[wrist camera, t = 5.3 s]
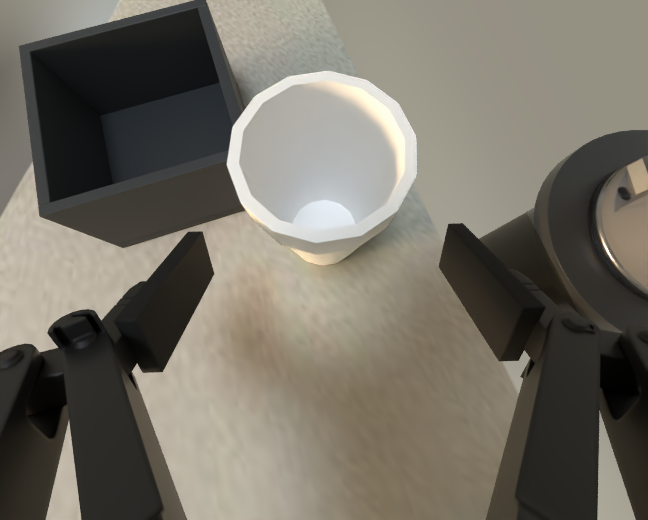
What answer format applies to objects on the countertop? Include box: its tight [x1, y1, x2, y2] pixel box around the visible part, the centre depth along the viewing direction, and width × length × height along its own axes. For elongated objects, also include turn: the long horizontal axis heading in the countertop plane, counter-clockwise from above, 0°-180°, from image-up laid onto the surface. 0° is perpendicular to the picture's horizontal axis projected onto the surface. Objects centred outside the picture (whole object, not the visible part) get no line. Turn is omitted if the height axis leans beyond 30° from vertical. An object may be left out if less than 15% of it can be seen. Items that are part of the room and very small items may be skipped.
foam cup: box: [227, 71, 417, 266], centre depth 21 cm, size 10×9×13 cm
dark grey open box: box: [19, 0, 245, 248], centre depth 25 cm, size 15×15×8 cm
